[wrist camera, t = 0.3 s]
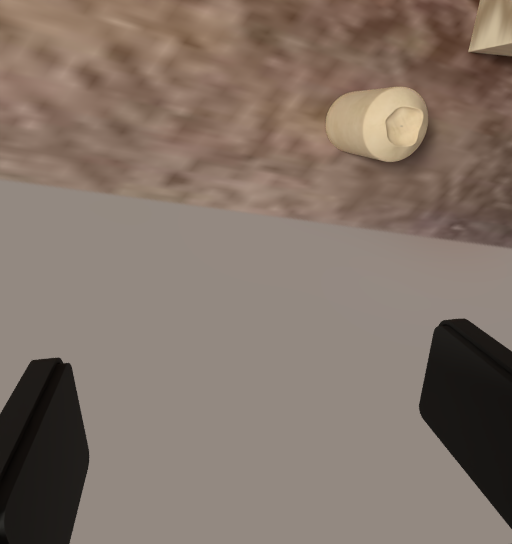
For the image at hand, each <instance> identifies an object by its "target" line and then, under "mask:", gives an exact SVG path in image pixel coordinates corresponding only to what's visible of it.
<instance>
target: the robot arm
mask: <svg viewBox="0 0 512 544" xmlns="http://www.w3.org/2000/svg"><path fill="white" fill-rule="evenodd" d="M419 410H420V414H421V416H422V418H423V419H424V421H425V422H426V423H427V424H428V426H429V427H430V428H431V429H432V431H433V432H434V433H435V434H436V435H437V437H438V438H439V439H440V441H441V442H442V443H443V444H444V446H445V447H446V448H447V449H448V450H449V452H450V453H451V454H452V455H453V457H454V458H455V459H456V460H457V462H458V463H459V464H460V465H461V467H462V468H463V469H464V470H465V472H466V473H467V474H468V475H469V476H470V478H471V479H472V480H473V481H474V483H475V484H476V485H477V486H478V488H479V489H480V490H481V492H482V493H483V494H484V495H485V496H486V498H487V499H488V500H489V501H490V503H491V504H492V505H493V506H494V508H495V509H496V510H497V511H498V512H499V514H500V515H501V516H502V517H503V519H504V520H505V521H506V523H507V524H508V525H509V526H510V528H511V529H512V351H510V350H509V349H508V348H506V347H505V346H503V345H502V344H500V343H499V342H498V341H496V340H495V339H493V338H492V337H490V336H489V335H488V334H486V333H485V332H484V331H482V330H481V329H480V328H478V327H476V326H475V325H474V324H473V323H471V322H470V321H468V320H466V319H452V320H444V321H442V322H441V323H440V324H439V326H438V327H436V328H435V330H434V334H433V338H432V343H431V348H430V353H429V358H428V363H427V369H426V373H425V379H424V384H423V388H422V393H421V399H420V404H419ZM88 465H89V449H88V445H87V439H86V434H85V429H84V425H83V420H82V415H81V411H80V405H79V400H78V396H77V391H76V387H75V381H74V376H73V371H72V367H71V365H70V363H63V362H62V360H61V359H60V358H49V359H39V360H33V361H31V362H30V364H29V365H28V367H27V369H26V371H25V373H24V374H23V376H22V377H21V379H20V381H19V383H18V384H17V386H16V388H15V389H14V391H13V393H12V395H11V396H10V398H9V400H8V402H7V403H6V405H5V407H4V408H3V410H2V412H1V414H0V544H69V543H70V539H71V535H72V531H73V526H74V523H75V518H76V514H77V510H78V506H79V502H80V498H81V494H82V490H83V486H84V482H85V478H86V474H87V470H88Z"/></svg>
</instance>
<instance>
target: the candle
mask: <svg viewBox="0 0 512 544" xmlns="http://www.w3.org/2000/svg"><path fill="white" fill-rule="evenodd" d="M427 127H428V111H427V107H426V104H425V102H424V100H423V99H422V97H421V96H420V95H419V94H418V93H417V92H416V91H414V90H412V89H410V88H407V87H391V88H382V89H373V90H364V91H355V92H350V93H346V94H344V95H342V96H341V97H339V98H338V99H337V100H336V101H335V102H334V103H333V104H332V106H331V107H330V109H329V111H328V114H327V117H326V133H327V136H328V138H329V140H330V141H331V143H332V144H333V145H334V146H335V147H336V148H338V149H339V150H342V151H345V152H348V153H352V154H356V155H360V156H364V157H369V158H373V159H377V160H381V161H385V162H395V161H400V160H402V159H405V158H406V157H408V156H410V155H411V154H412V153H413V152H414V151H415V150H416V149H417V148H418V147H419V146H420V144H421V142H422V141H423V139H424V137H425V134H426V131H427Z"/></svg>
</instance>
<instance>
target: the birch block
mask: <svg viewBox="0 0 512 544" xmlns="http://www.w3.org/2000/svg"><path fill="white" fill-rule="evenodd" d="M469 52H475V53H484V54H494V55H503V56H512V0H480V3H479V8H478V12H477V16H476V21H475V25H474V30H473V34H472V39H471V43H470V47H469Z"/></svg>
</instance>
